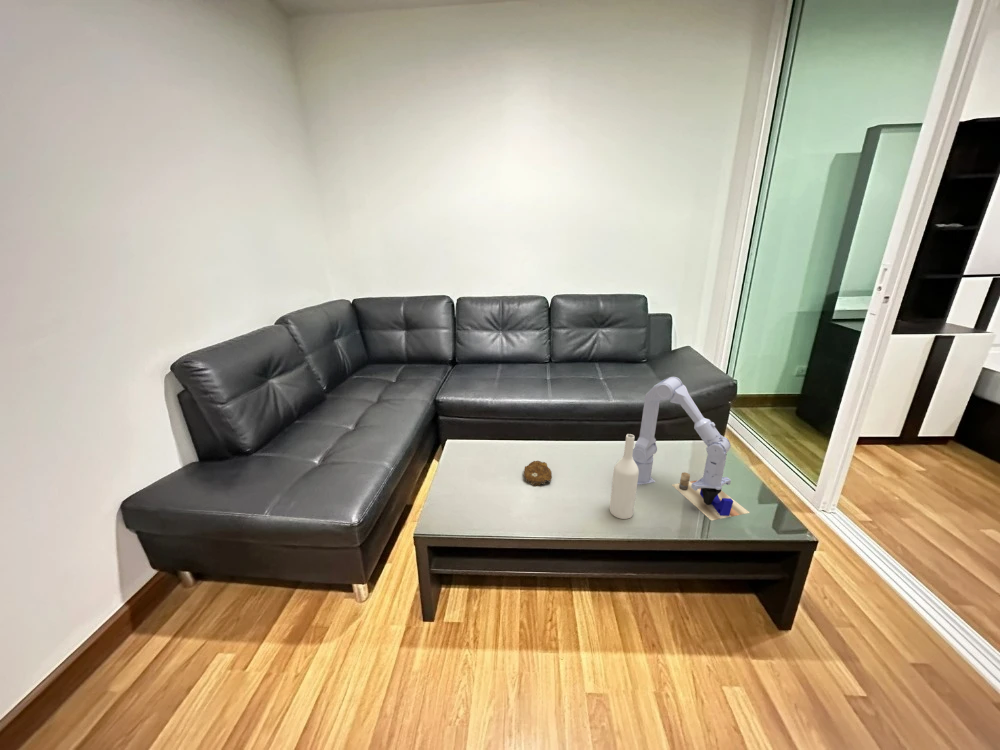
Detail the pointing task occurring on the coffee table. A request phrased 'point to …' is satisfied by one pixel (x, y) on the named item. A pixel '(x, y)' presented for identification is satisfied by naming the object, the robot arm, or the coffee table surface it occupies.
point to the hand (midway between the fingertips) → (707, 503)
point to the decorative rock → (537, 473)
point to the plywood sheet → (709, 509)
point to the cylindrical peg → (684, 481)
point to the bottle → (624, 483)
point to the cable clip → (721, 505)
